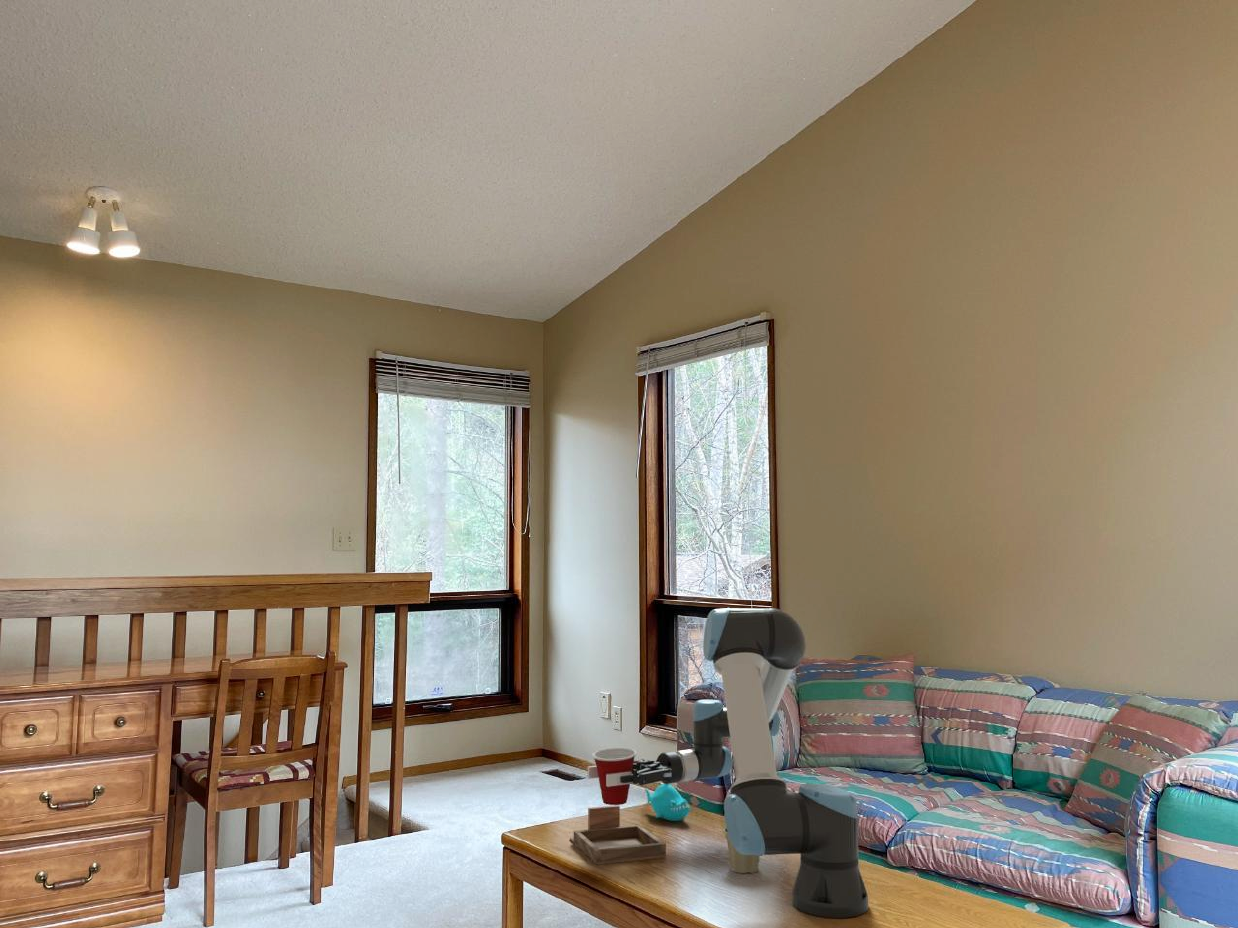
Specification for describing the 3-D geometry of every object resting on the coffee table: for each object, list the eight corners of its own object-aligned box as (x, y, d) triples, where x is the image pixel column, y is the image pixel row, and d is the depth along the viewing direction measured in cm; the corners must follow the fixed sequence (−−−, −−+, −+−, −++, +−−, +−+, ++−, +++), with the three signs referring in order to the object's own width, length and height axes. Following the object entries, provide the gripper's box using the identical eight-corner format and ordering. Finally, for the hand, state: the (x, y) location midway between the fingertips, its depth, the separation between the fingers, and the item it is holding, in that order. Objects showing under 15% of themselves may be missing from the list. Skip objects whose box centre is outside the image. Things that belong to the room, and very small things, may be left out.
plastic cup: (582, 802, 232) (582, 751, 233) (613, 794, 240) (613, 745, 241) (614, 810, 225) (614, 758, 226) (645, 802, 232) (645, 751, 234)
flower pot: (764, 877, 212) (763, 837, 213) (721, 874, 214) (721, 834, 215) (766, 864, 221) (766, 825, 222) (725, 861, 223) (725, 823, 224)
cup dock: (665, 856, 226) (665, 824, 227) (596, 864, 221) (596, 830, 221) (634, 833, 246) (634, 803, 247) (569, 839, 240) (569, 808, 241)
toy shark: (673, 828, 251) (673, 786, 252) (631, 813, 265) (631, 773, 266) (701, 822, 256) (701, 781, 258) (658, 808, 271) (658, 769, 272)
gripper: (700, 790, 232) (619, 802, 221) (653, 773, 251) (576, 783, 239) (700, 759, 233) (619, 768, 222) (653, 744, 251) (577, 752, 240)
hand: (597, 776), depth 231 cm, fingers closed on plastic cup, 9 cm apart
